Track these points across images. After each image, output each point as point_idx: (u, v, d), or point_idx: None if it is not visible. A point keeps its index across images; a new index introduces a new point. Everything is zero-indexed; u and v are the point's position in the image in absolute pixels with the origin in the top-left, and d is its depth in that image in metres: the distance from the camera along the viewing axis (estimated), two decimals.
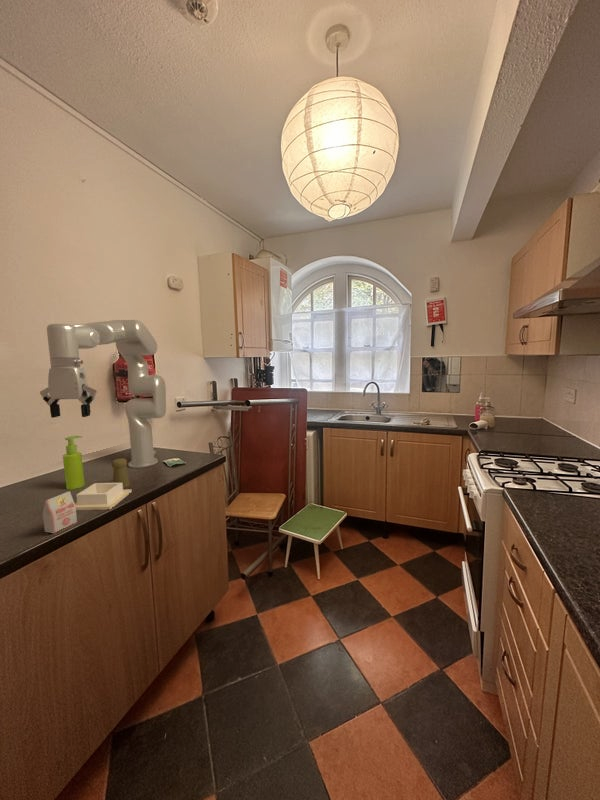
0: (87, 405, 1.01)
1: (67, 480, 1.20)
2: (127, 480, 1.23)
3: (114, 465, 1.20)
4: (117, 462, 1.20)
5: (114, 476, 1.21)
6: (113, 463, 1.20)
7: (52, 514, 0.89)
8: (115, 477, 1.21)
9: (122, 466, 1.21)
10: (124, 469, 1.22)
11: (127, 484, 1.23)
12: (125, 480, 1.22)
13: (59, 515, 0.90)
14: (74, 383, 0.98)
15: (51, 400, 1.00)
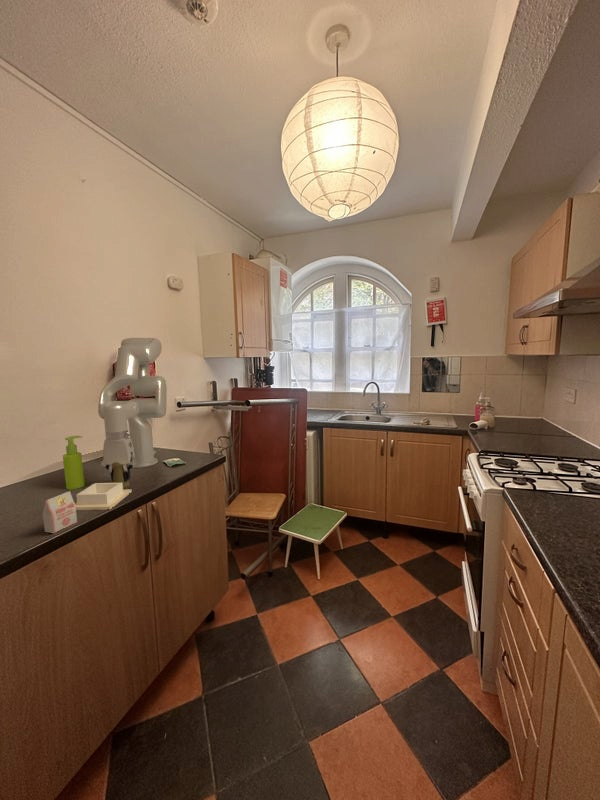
0: (128, 472, 1.23)
1: (67, 480, 1.20)
2: (127, 480, 1.23)
3: (114, 465, 1.20)
4: (117, 462, 1.20)
5: (114, 476, 1.21)
6: (113, 463, 1.20)
7: (52, 514, 0.89)
8: (115, 477, 1.21)
9: (122, 466, 1.21)
10: None
11: (127, 484, 1.23)
12: None
13: (59, 515, 0.90)
14: (124, 452, 1.20)
15: (110, 467, 1.21)
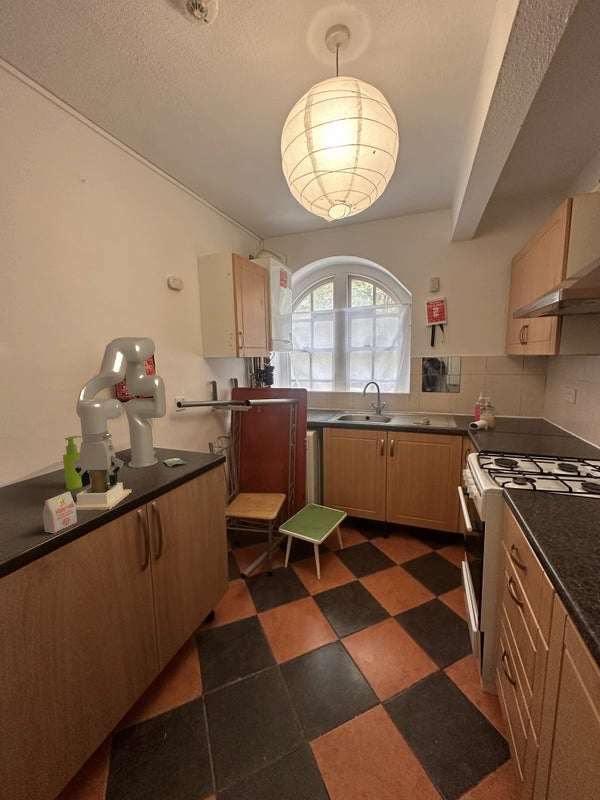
0: (115, 475, 1.09)
1: (67, 480, 1.20)
2: None
3: (92, 475, 1.07)
4: (95, 471, 1.07)
5: (92, 487, 1.08)
6: (91, 472, 1.07)
7: (52, 514, 0.89)
8: (94, 488, 1.08)
9: (101, 476, 1.08)
10: (104, 479, 1.09)
11: None
12: (104, 491, 1.09)
13: (59, 515, 0.90)
14: (104, 456, 1.06)
15: (82, 471, 1.08)
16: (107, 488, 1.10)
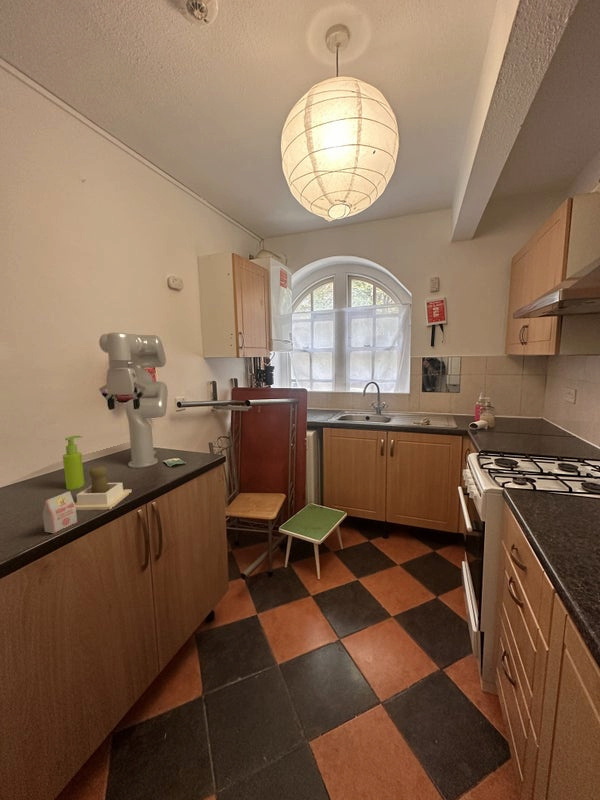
0: (138, 399, 1.22)
1: (67, 480, 1.20)
2: None
3: (92, 475, 1.07)
4: (95, 471, 1.07)
5: (92, 487, 1.08)
6: (91, 472, 1.07)
7: (52, 514, 0.89)
8: (94, 488, 1.08)
9: (101, 476, 1.08)
10: (104, 479, 1.09)
11: None
12: (104, 491, 1.09)
13: (59, 515, 0.90)
14: (128, 381, 1.19)
15: (109, 395, 1.21)
16: (107, 488, 1.10)
